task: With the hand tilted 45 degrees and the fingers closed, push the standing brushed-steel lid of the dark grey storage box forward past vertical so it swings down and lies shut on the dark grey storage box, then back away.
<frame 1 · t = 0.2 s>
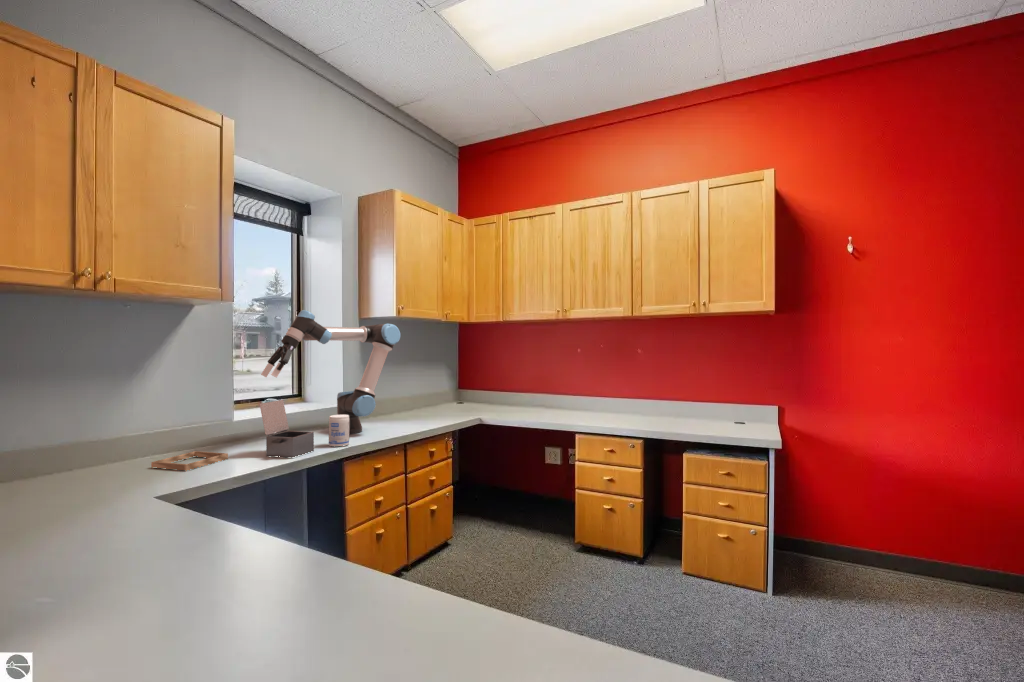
hand: (268, 376, 228), 35 cm above the countertop, tool tilted 35°, fingers open, 13 cm apart
supplement tub: (339, 445, 238), on the countertop
corral: (191, 463, 203), on the countertop
lid: (274, 417, 222), point 16 cm above the countertop, hinge at 103.0°
dark grey storage box: (290, 453, 220), on the countertop
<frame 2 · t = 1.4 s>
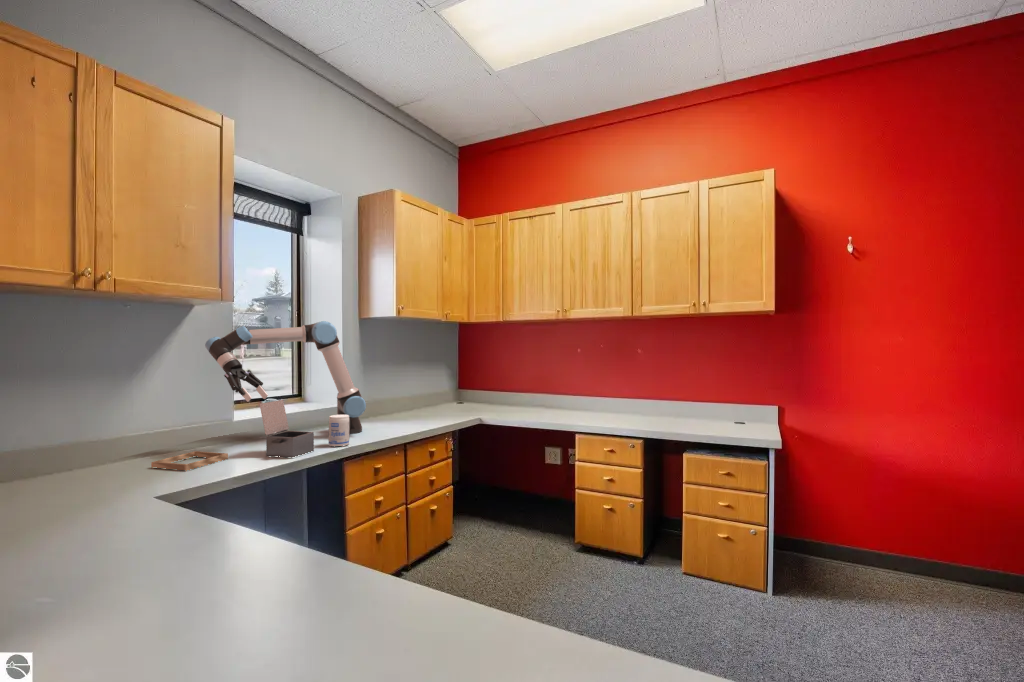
hand: (258, 398, 224), 25 cm above the countertop, tool tilted 45°, fingers open, 9 cm apart
nothing on the countertop moved.
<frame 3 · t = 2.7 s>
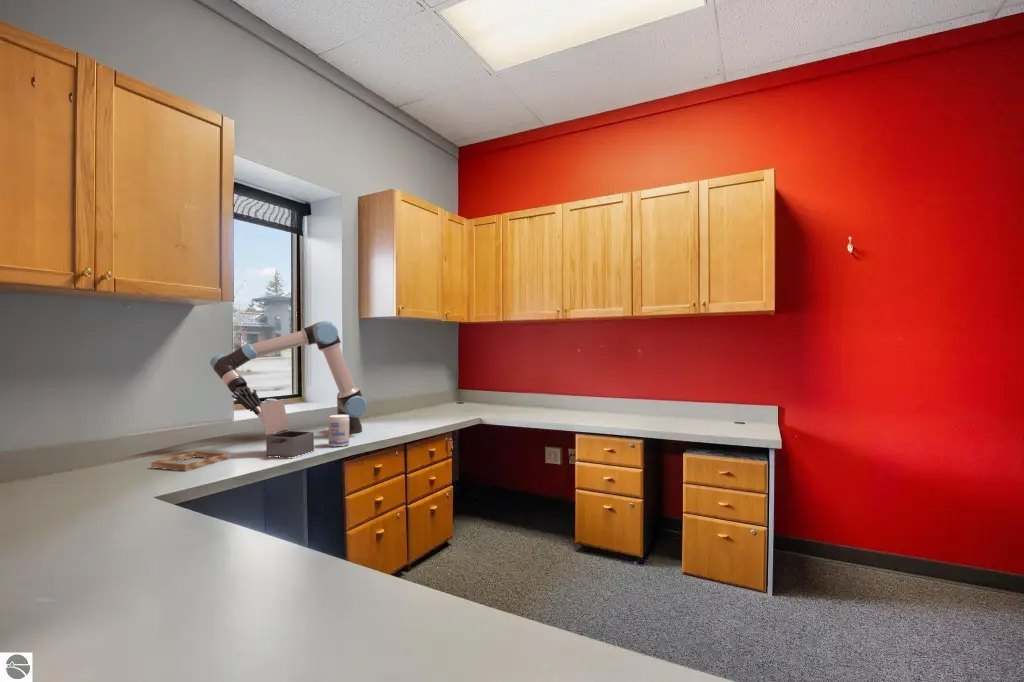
hand: (264, 418, 223), 16 cm above the countertop, tool tilted 45°, fingers closed
nothing on the countertop moved.
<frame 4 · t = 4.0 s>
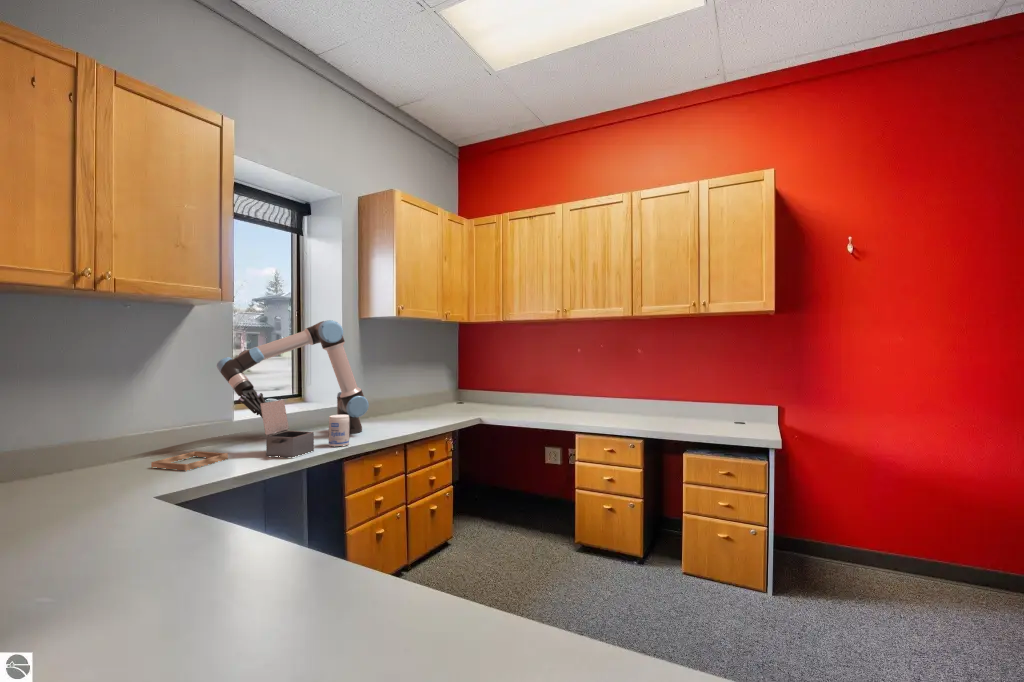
hand: (270, 422, 222), 14 cm above the countertop, tool tilted 45°, fingers closed
lid: (274, 417, 222), point 16 cm above the countertop, hinge at 101.3°, touching gripper
everything else where it was.
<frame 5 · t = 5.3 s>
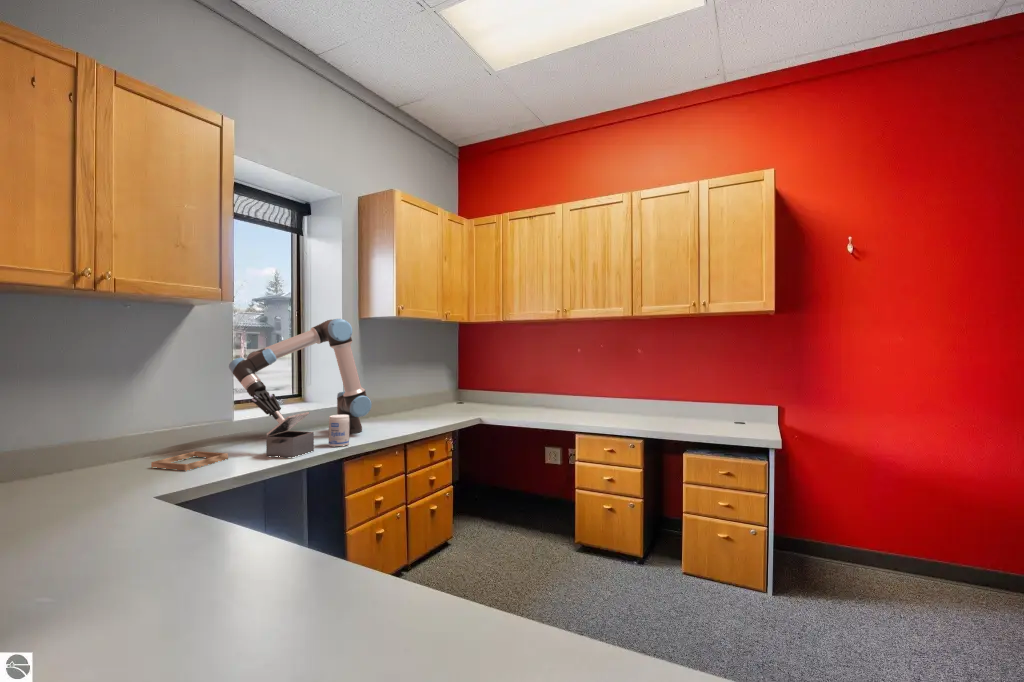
hand: (283, 423, 221), 14 cm above the countertop, tool tilted 45°, fingers closed
lid: (287, 423, 220), point 14 cm above the countertop, hinge at 36.1°, touching gripper
everything else where it was.
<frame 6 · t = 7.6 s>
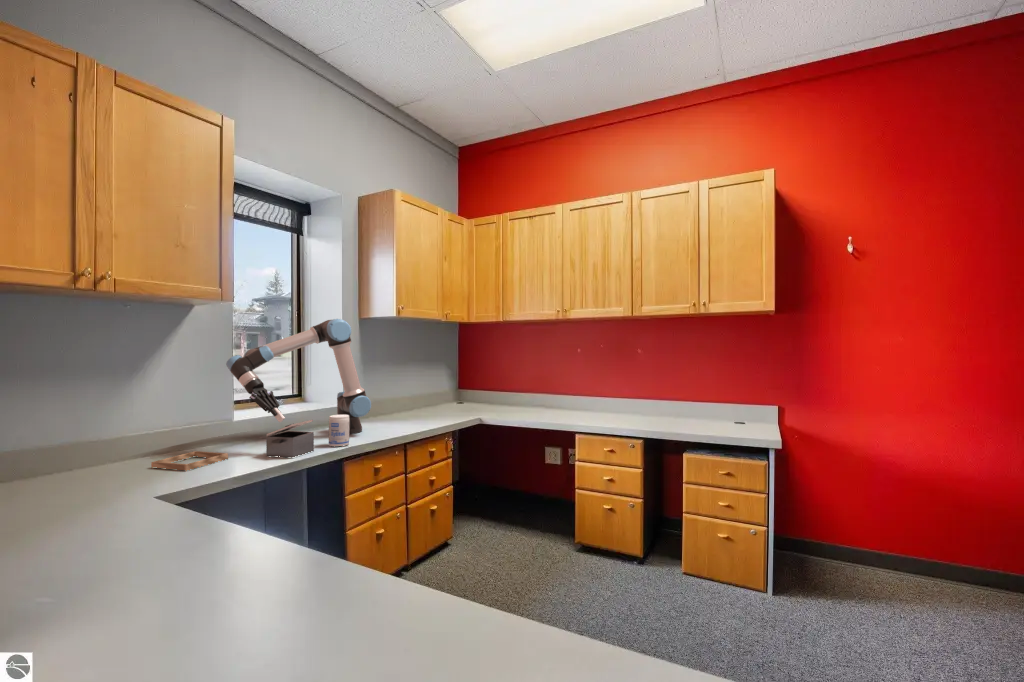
hand: (282, 420, 221), 15 cm above the countertop, tool tilted 45°, fingers closed
lid: (289, 426, 220), point 12 cm above the countertop, hinge at 20.0°
everything else where it was.
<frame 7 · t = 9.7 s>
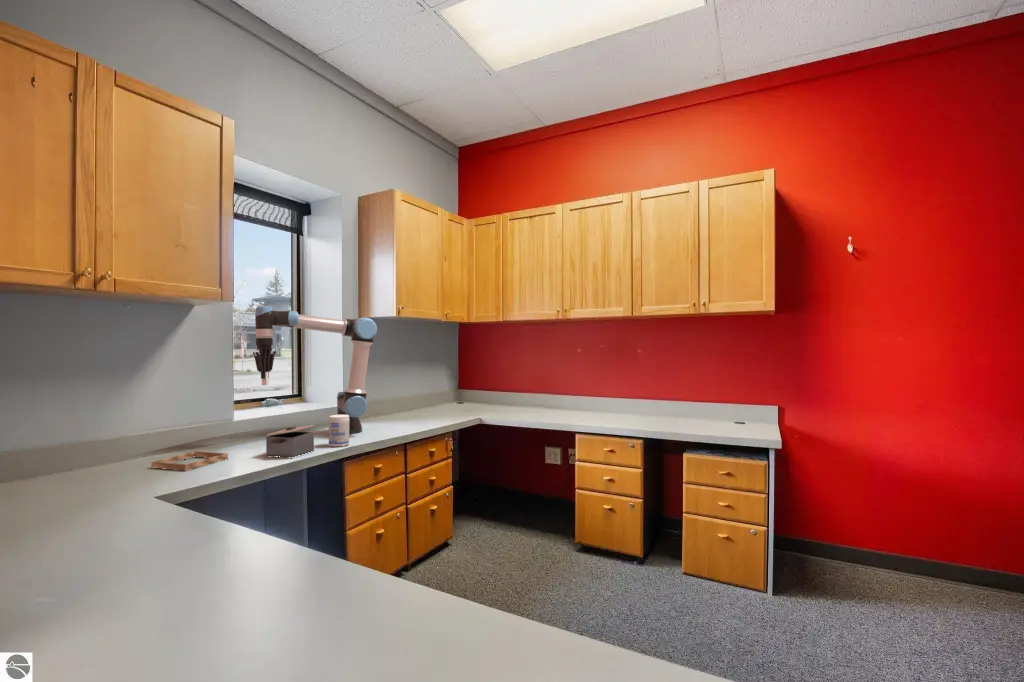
hand: (265, 385, 239), 30 cm above the countertop, tool pointing down, fingers closed
lid: (290, 429, 220), point 11 cm above the countertop, hinge at 10.4°
everything else where it was.
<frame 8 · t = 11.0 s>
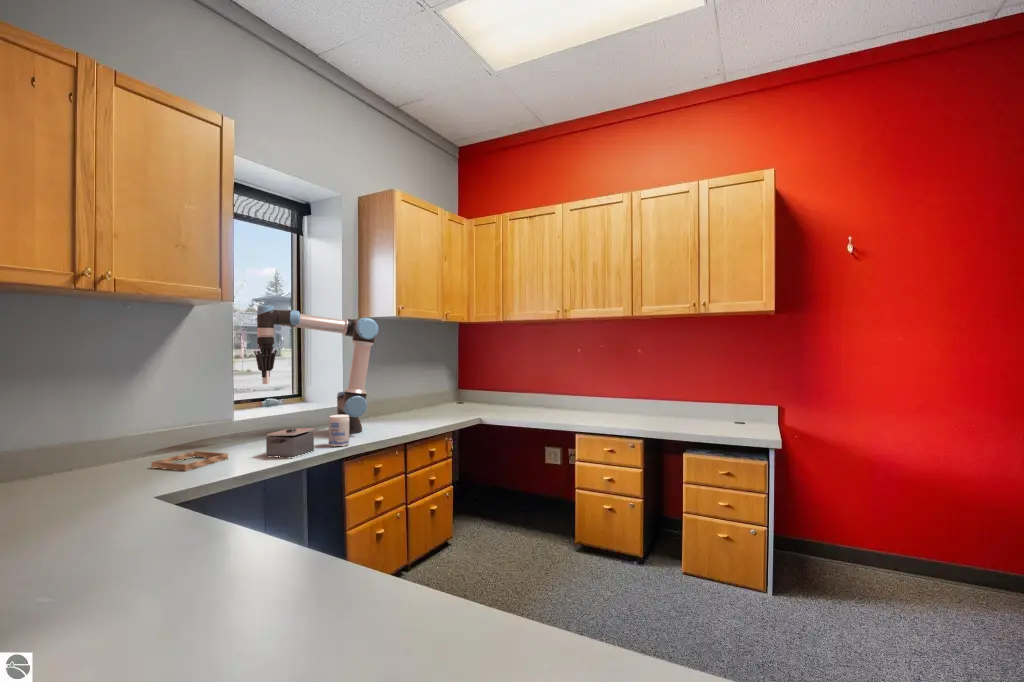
hand: (265, 383, 239), 30 cm above the countertop, tool pointing down, fingers closed
lid: (290, 431, 220), point 10 cm above the countertop, hinge at 3.8°
everything else where it was.
at the end: lid at +3° (first picture: +103°); the gripper is holding nothing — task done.
